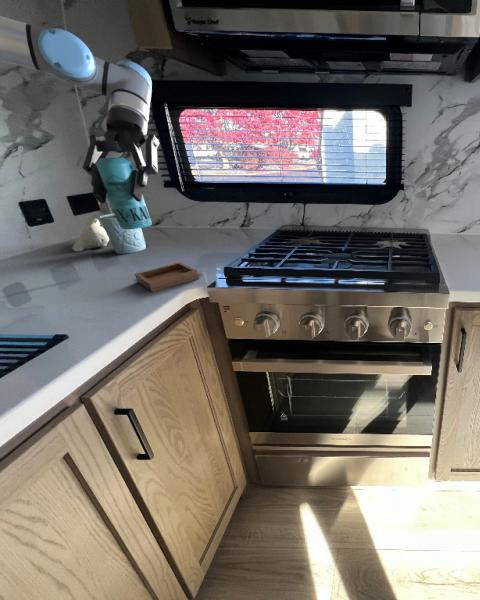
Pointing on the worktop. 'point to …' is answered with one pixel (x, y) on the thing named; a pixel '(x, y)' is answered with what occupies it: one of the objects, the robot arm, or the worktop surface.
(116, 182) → the beverage bottle
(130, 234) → the light blue embossed planter
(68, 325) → the worktop surface
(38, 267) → the worktop surface
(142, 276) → the brown wooden shallow tray
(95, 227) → the cream animal figurine
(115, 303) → the worktop surface
